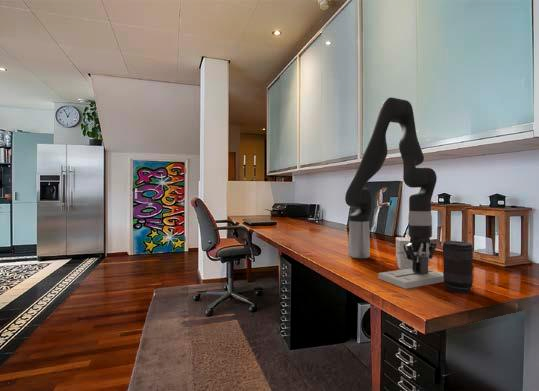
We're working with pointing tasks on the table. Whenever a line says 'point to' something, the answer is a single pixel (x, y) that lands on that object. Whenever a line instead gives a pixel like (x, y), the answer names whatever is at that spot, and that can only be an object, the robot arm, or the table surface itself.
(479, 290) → the table surface
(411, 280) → the fader console
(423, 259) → the fader tab
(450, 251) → the camera lens
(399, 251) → the ink cartridge box
